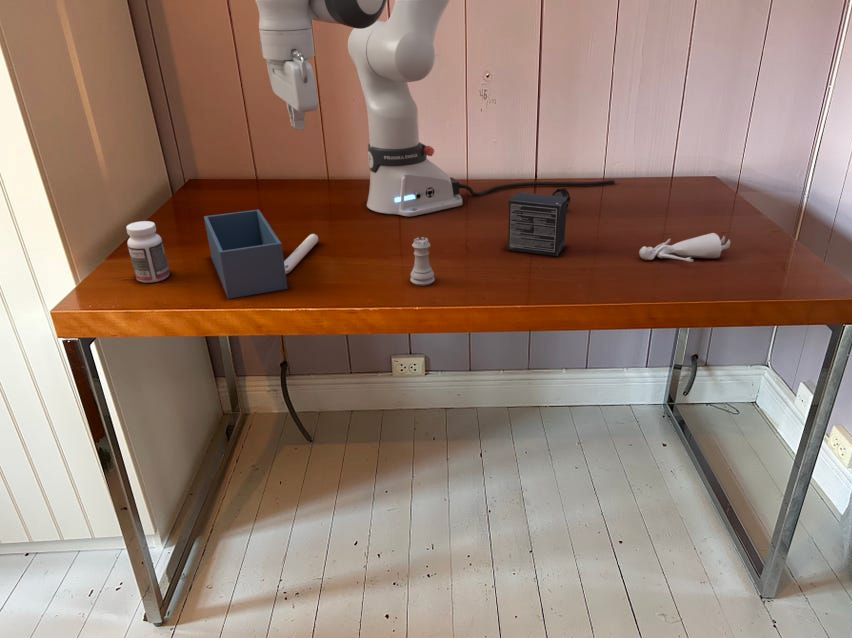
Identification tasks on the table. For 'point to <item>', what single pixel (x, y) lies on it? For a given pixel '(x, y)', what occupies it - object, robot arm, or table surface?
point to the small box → (537, 223)
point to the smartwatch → (562, 194)
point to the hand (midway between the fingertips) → (298, 128)
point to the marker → (300, 252)
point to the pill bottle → (147, 252)
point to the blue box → (245, 253)
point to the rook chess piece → (421, 263)
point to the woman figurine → (688, 248)
